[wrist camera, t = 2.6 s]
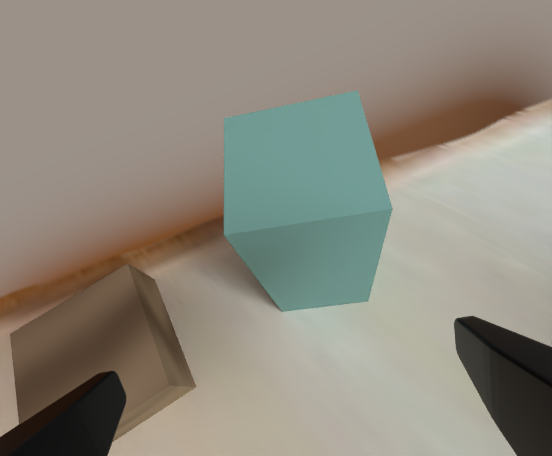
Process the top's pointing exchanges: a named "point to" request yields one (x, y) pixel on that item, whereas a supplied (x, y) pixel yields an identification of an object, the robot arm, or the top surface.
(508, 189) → the top surface
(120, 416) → the robot arm
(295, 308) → the teal pillar
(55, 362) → the taupe square slab
